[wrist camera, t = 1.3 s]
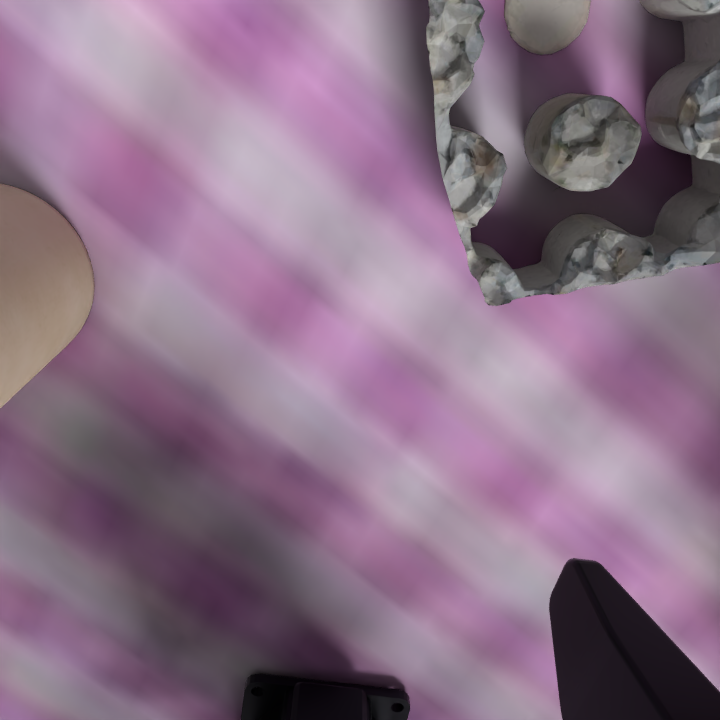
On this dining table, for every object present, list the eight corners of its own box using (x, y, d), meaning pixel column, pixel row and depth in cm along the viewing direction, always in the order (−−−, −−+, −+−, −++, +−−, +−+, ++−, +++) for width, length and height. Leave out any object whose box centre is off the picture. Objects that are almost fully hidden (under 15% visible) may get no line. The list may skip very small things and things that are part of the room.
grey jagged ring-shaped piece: (388, -123, 17) (397, -181, 13) (696, -194, 16) (798, -275, 13) (448, 284, 21) (468, 330, 17) (696, 238, 20) (774, 275, 17)
